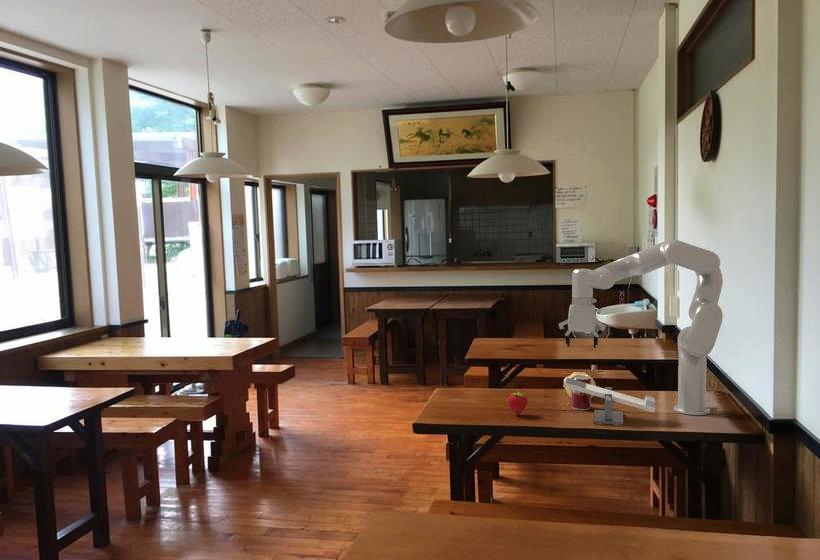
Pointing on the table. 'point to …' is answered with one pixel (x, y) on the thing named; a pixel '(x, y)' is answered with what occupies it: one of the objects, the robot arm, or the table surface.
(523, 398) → the strawberry
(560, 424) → the table surface
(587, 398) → the soda can
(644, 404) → the beam
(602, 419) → the fulcrum stand
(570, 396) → the sculpture
